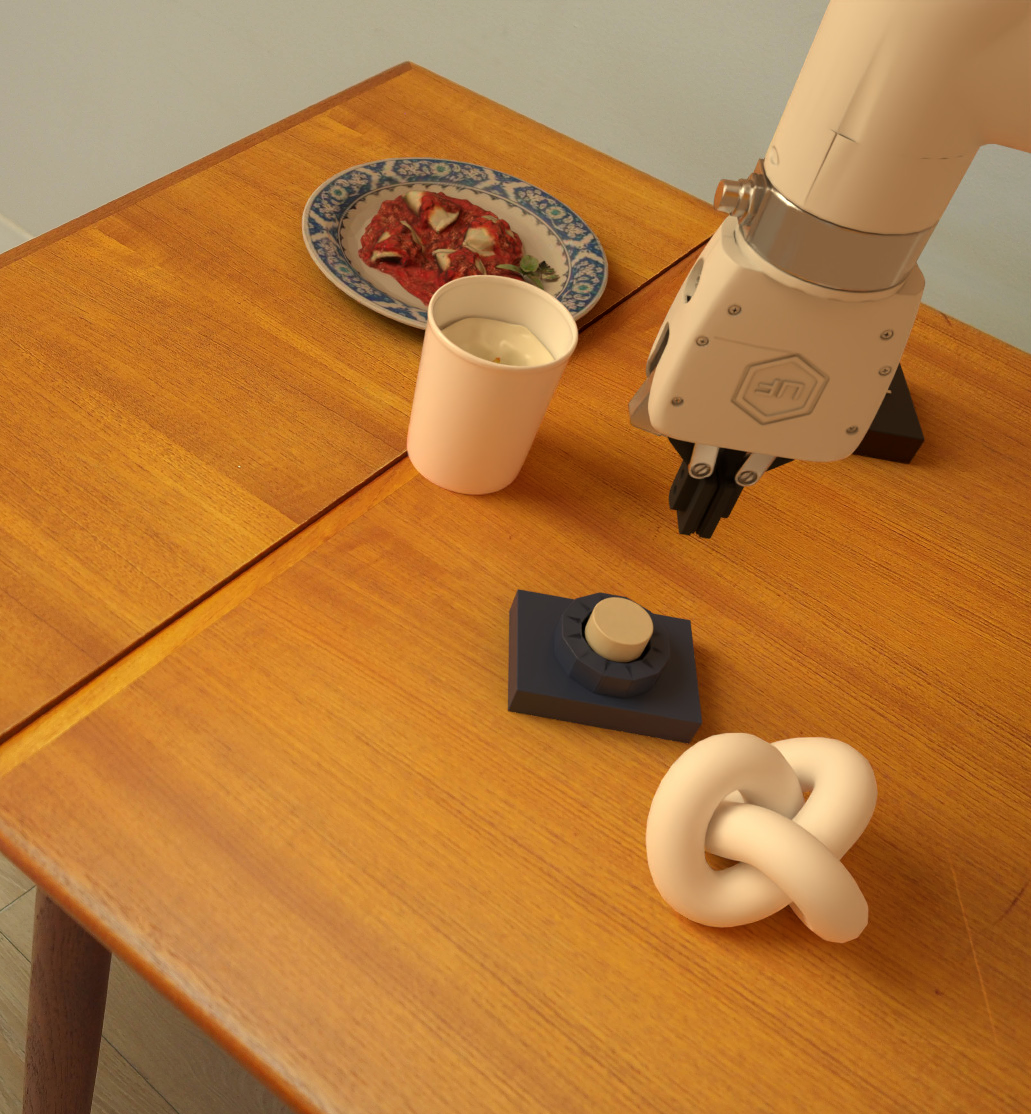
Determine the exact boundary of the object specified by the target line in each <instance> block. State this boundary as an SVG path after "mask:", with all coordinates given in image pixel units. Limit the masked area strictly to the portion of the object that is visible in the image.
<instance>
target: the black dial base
mask: <svg viewBox="0 0 1031 1114" xmlns="http://www.w3.org/2000/svg"><path fill="white" fill-rule="evenodd" d="M850 429H851V427H850ZM925 440H926V439H925V436H924V433H923V429H922V426H921V423H920V420H919V417H918V414H917V410H916V407H915V404H914V402H913V399H912V395H911V392H910V389H909V385H908V383H907V379H906V376H905V374H904V370H903V368H902V365H901V361H900V362H899V365H898V367H897V370H896V372H895V375H894V377H893V379H892V381H891V384H890V386H889V388H888V390H887V392H886V395H885V397H884V399H883V401H882V403H881V405H880V407H879V409H878V411H877V414H876V416H875V418H874V419H873V421H872V423H871V425H870V427H869V429H868V431H867V433H866V434H865V436H864V438H863V440H862V441H861V443H860V444H859V446H858V447H857V448H856V450H855V451H854V452H853V453H852V454H851V455H857V456H862V457H869V458H875V459H880V460H885V461H891V462H896V463H902V464H907V465H908V464H911V462H912V461H913V459H914V457H915V456H916V455H917V453H918V452H919V450H920V448H921V447H922V446H923V444H924V443H925Z"/></svg>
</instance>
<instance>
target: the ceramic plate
mask: <svg viewBox="0 0 1031 1114" xmlns="http://www.w3.org/2000/svg"><path fill="white" fill-rule="evenodd" d="M303 209H304V210H303V212H302V217H301V233H302V234H301V235H302V238H303V242H304V244H305V247H306V249H307V252H308V254H309V255H310V257H311V259H312V261H313V262H314V264H315V265H316V266H317V268H318V269H319V270H320V272H322V274H323V275H324V276H325V277H326V278H327V279H328V280H329V281H330V282H331V283H332V284H333V285H335V286H336V287H337V288H338V289H339V290H341V292H343V293H345V294H346V295H347V296H348V297H350V298H352V300H355V301H356V302H358V303H359V304H360V305H362V306H364V307H366V308H368V309H369V310H371V311H374V312H376V313H378V314H379V315H382V316H384V317H386V318H389V319H391V320H394V321H396V322H398V323H401V324H404V325H407V326H409V327H413V328H416V329H420V330H423V331H425V330H426V324H427V318H428V306H429V303H430V300H431V298H432V296H433V295H434V293H435V292H436V291H437V290H438V289H439V288H440V287H442V286H443V285H445V284H446V283H448V282H450V281H453V280H455V279H458V278H462V277H467V276H474V275H494V276H502V277H508V278H512V279H516V280H520V281H523V282H526V283H529V284H531V285H533V286H536V287H538V288H540V289H542V290H544V291H545V292H547V293H549V294H550V295H552V296H553V297H554V298H556V299H557V300H558V301H560V302H561V303H562V304H563V305H564V306H565V307H566V308H567V310H568V311H569V312H570V313H571V315H572V316H573V318H574V320H575V322H577V321H579V320H580V319H581V318H583V317H585V316H586V315H587V314H588V313H589V312H590V311H591V310H592V309H593V308H594V307H595V306H596V305H597V304H598V303H599V301H600V300H601V297H602V296H603V294H604V292H605V290H606V287H607V284H608V281H609V280H608V279H609V263H608V259H607V258H608V257H607V255H606V252H605V249H604V247H603V245H602V243H601V241H600V238H599V237H598V236H597V234H596V233H595V232H594V231H593V229H592V227H590V225H588V223H587V222H586V221H585V220H584V219H583V218H582V217H581V216H580V215H579V214H578V213H577V212H575V211H574V210H573V209H572V208H571V207H570V206H569V205H567V204H566V203H564V201H562V200H560V199H558V198H557V197H556V196H553V194H551V193H549V192H547V191H546V190H544V189H542V188H541V187H538V186H537V185H534V184H533V183H530V182H528V181H526V180H524V179H522V178H520V177H517V176H515V175H512V174H510V173H507V172H503V171H500V170H497V169H494V168H491V167H487V166H484V165H481V164H476V163H472V162H467V161H462V160H461V161H460V160H456V159H455V160H454V159H448V158H440V157H430V156H429V157H427V156H425V157H423V156H421V157H420V156H419V157H418V156H415V157H414V156H409V157H407V156H406V157H405V156H404V157H403V156H402V157H388V158H384V159H379V160H374V161H368V162H364V163H360V164H357V165H353V166H351V167H348V168H347V169H344V170H341V171H340V172H338V173H336V174H334V175H332V176H331V177H329V178H327V179H326V180H325V181H324V182H322V183H321V184H319V186H318V187H317V188H316V189H315V190H314V191H312V194H311V195H310V196H309V198H308V200H307V201H306V203H305V205H304V208H303Z"/></svg>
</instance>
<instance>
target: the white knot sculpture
mask: <svg viewBox="0 0 1031 1114" xmlns="http://www.w3.org/2000/svg"><path fill="white" fill-rule="evenodd" d="M874 772H875V771H874V769H873V768H872V765H871V763H870V761H869V760H868V759H867V758H866V757H865V755H863V754H862V753H861V752H860V751H859V750H857V749H856V748H854V747H853V746H852V745H850V744H849V743H846V742H844V741H841V740H839V739H837V738H830V737H825V736H813V737H811V736H809V737H807V736H806V737H793V738H787V739H781V740H777V741H774V742H771V743H770V742H768V741H766V740H764V739H763V738H761V737H758V736H757V735H754V734H752V733H747V732H724V733H720V734H714V735H711V736H708V737H707V738H704V739H702V740H699V741H698V742H696V743H695V744H693V745H691V747H689V748H688V749H687V750H685V751H684V752H683V753H682V754H681V755H680V756H679V757H678V758H677V759H676V760H675V761H674V762H673V763H672V765H670V767H669V769H667V772H666V773H665V775H664V776H663V778H662V779H661V781H660V783H659V785H658V787H657V789H656V791H655V794H654V796H653V798H652V801H651V805H650V808H649V812H648V816H647V819H646V820H647V821H646V828H645V829H646V830H645V846H646V847H645V848H646V859H647V864H648V865H647V866H648V868H649V871H650V875H651V878H652V882H653V884H654V887H655V888H656V890H657V891H658V894H660V896H661V898H662V899H663V900H664V901H665V902H666V904H667V905H669V907H670V908H672V910H673V911H675V912H676V913H678V914H680V915H681V916H682V915H683V917H684V918H685V919H687V918H688V919H687V920H690V921H691V922H695V923H698V924H701V925H704V926H706V927H713V928H732V927H738V926H745V925H748V924H749V925H750V924H752V923H755V922H758V921H761V920H764V919H766V918H768V917H770V916H772V915H774V914H776V913H778V912H779V911H781V910H782V909H784V908H786V907H787V906H789V907H790V908H791V910H792V911H793V913H794V914H795V915H796V916H797V918H798V919H799V920H800V922H802V923H803V925H804V926H805V927H807V928H808V929H809V930H810V931H811V932H813V933H814V934H815V935H817V936H818V937H819V938H821V939H822V940H823V941H825V942H832V943H837V944H845V943H847V942H850V941H852V940H855V939H857V938H859V937H860V935H861V934H862V932H863V931H864V930H865V928H866V927H867V926H868V923H869V905H868V902H867V900H866V898H865V896H864V893H862V891H861V889H860V887H859V885H858V883H857V882H856V880H855V879H854V877H853V875H852V874H851V872H850V871H849V870H848V869H847V868H846V867H845V865H844V864H843V863H842V862H841V859H843V857H844V856H845V855H846V854H847V853H848V851H849V850H850V849H851V848H852V847H853V846H854V845H855V844H856V842H857V841H858V840H859V839H860V837H861V836H862V834H863V833H864V831H865V829H866V828H867V827H868V826H869V823H870V821H871V819H872V818H873V815H874V812H875V809H876V806H877V801H878V793H879V792H878V785H877V779H876V776H875V773H874ZM809 792H811V793H810V795H809V796H808V798H807V800H805V797H804V793H809ZM705 852H706V853H708V854H711V855H715V856H718V857H720V858H724V859H727V860H732V861H735V862H736V861H737V862H738V863H735V864H734V865H732V866H729V867H727V868H725V869H720V870H715V869H713V868H712V867H711V866H710V864H709V863H708V861H707V860H706V853H705Z"/></svg>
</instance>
